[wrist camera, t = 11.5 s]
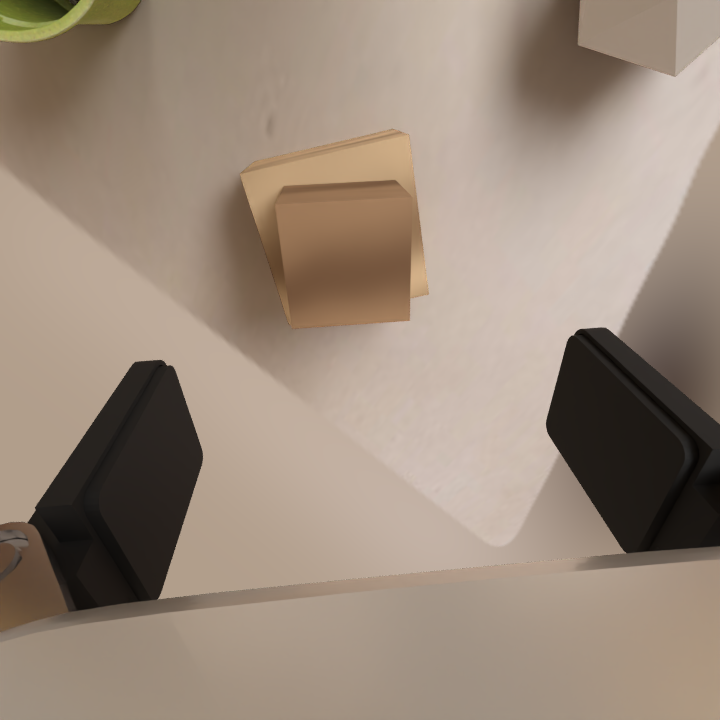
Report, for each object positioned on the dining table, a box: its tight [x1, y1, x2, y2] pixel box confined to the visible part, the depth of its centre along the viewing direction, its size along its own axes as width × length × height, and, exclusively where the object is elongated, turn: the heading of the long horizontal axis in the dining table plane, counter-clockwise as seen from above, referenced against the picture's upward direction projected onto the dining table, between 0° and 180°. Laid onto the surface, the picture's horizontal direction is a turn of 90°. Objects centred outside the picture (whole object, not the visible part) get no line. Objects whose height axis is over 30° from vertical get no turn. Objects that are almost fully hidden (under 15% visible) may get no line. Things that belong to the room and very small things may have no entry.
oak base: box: [240, 129, 429, 325], centre depth 27 cm, size 9×9×6 cm
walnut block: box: [275, 180, 413, 329], centre depth 22 cm, size 6×6×5 cm
